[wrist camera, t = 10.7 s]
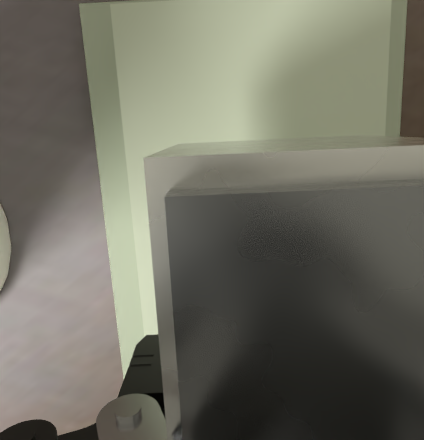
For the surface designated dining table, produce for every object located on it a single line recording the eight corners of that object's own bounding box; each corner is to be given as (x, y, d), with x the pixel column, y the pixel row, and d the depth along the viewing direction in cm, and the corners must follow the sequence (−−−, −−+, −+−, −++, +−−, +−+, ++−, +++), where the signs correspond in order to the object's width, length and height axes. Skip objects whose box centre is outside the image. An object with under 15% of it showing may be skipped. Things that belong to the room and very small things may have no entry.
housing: (177, 143, 12) (135, 160, 5) (361, 135, 11) (552, 142, 5) (198, 470, 14) (188, 750, 8) (346, 465, 14) (457, 742, 8)
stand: (137, 454, 23) (122, 520, 19) (86, 10, 17) (49, -24, 13) (374, 443, 23) (408, 508, 19) (397, -8, 17) (451, -49, 13)
